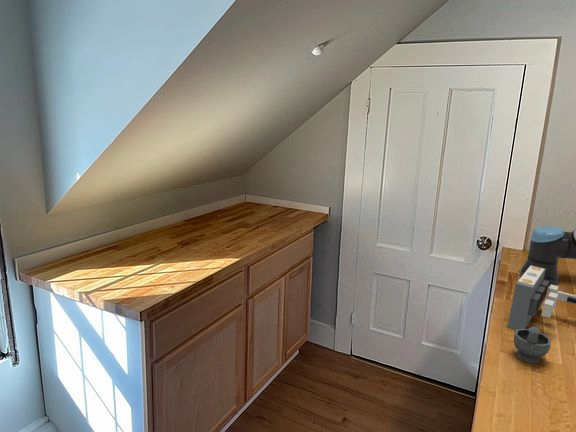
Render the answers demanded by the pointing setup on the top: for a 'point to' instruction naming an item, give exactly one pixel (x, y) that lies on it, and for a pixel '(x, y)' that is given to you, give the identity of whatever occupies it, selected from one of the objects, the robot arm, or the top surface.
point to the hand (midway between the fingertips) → (556, 294)
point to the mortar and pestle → (531, 344)
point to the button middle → (553, 298)
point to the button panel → (528, 297)
